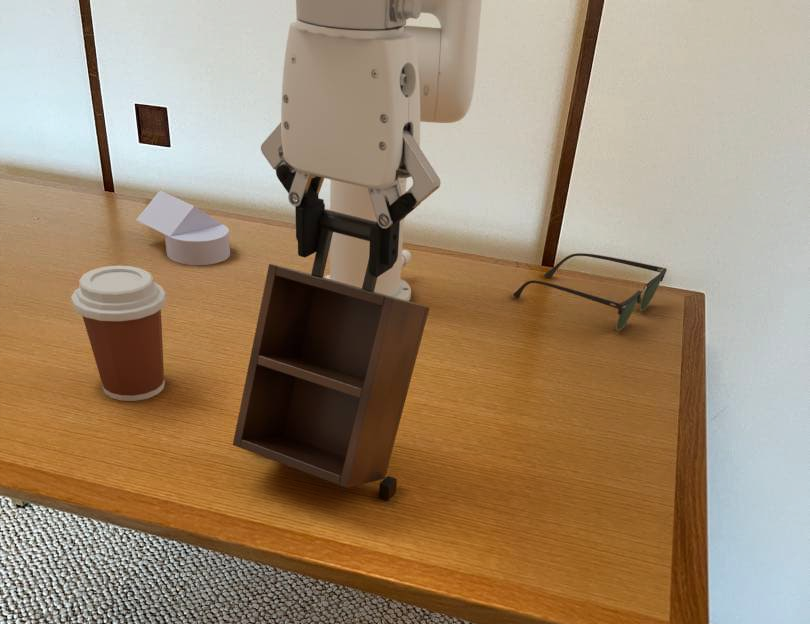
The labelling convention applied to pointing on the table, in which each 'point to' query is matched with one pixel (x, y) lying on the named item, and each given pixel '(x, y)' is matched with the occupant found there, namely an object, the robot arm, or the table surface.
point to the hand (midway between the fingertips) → (346, 259)
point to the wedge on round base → (187, 231)
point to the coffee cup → (124, 329)
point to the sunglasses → (623, 308)
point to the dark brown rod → (387, 488)
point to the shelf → (329, 368)
